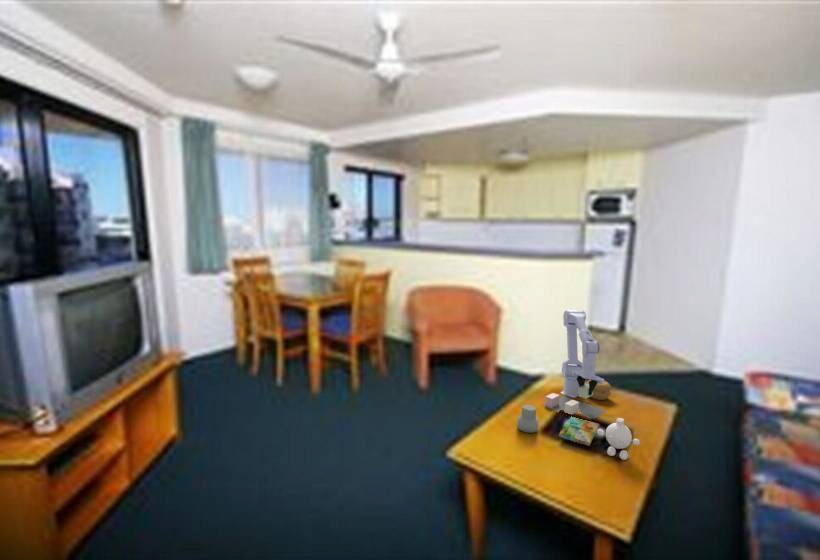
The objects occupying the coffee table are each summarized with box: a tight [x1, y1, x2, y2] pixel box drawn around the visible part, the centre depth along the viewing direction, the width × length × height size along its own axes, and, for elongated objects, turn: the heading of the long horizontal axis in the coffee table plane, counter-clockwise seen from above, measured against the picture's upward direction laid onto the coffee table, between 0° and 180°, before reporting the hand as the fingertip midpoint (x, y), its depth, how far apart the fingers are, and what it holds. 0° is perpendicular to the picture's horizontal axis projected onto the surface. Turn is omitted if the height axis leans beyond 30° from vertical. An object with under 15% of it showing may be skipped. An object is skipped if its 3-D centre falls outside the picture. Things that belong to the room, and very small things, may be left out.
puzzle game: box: [558, 416, 600, 447], centre depth 179 cm, size 12×5×20 cm
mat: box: [542, 395, 606, 420], centre depth 205 cm, size 20×22×1 cm
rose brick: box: [544, 392, 560, 408], centre depth 208 cm, size 7×4×5 cm, turn 133°
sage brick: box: [578, 383, 593, 400], centre depth 203 cm, size 7×4×5 cm, turn 133°
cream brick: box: [564, 399, 579, 415], centre depth 201 cm, size 7×4×5 cm, turn 133°
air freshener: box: [516, 404, 539, 434], centre depth 183 cm, size 11×8×10 cm
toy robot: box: [596, 417, 641, 461], centre depth 165 cm, size 15×10×15 cm, turn 57°
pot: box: [586, 379, 612, 401], centre depth 219 cm, size 12×12×10 cm
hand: (586, 393), depth 203 cm, fingers closed on sage brick, 3 cm apart
